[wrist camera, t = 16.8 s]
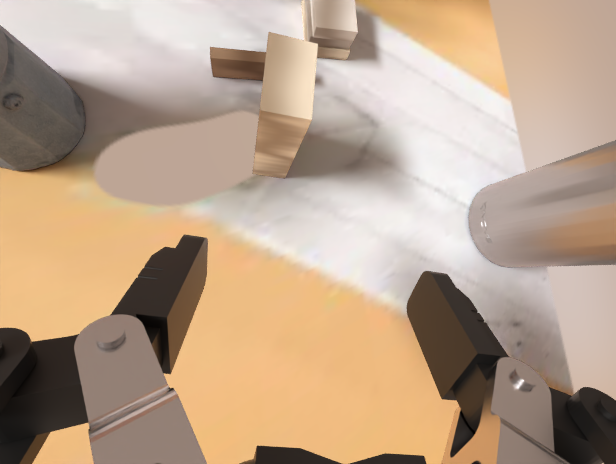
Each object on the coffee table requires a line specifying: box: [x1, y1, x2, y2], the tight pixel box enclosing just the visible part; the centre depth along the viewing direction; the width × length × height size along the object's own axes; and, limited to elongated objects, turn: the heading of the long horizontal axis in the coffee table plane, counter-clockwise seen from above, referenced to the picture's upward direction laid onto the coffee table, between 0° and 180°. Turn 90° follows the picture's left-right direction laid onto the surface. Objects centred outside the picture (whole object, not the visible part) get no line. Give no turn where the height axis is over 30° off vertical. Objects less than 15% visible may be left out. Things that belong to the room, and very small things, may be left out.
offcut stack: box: [301, 0, 358, 60], centre depth 29 cm, size 4×6×4 cm
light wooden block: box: [253, 32, 318, 178], centre depth 23 cm, size 3×5×11 cm, turn 175°
